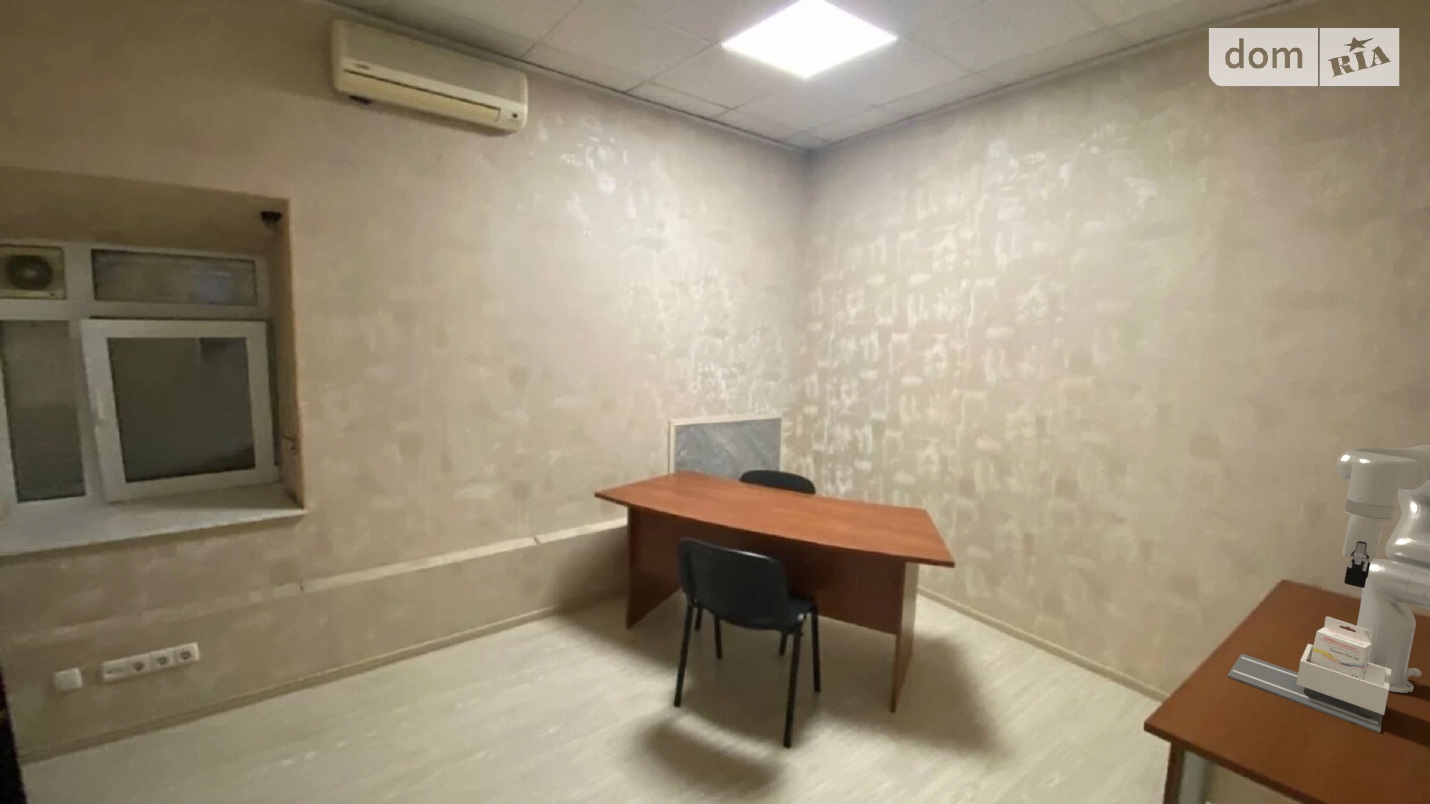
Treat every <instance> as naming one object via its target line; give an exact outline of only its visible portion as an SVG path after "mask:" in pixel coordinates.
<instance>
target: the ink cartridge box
mask: <svg viewBox="0 0 1430 804" xmlns="http://www.w3.org/2000/svg"><path fill="white" fill-rule="evenodd" d="M1343 627H1345V628H1346V627H1348V628H1350V630H1349V629H1345V628H1343ZM1351 630H1353V631H1351ZM1356 631H1357V632H1356ZM1372 636H1373V632H1372V631H1371V630H1368V629H1365V628H1362V627H1359V626H1357V624H1356V625H1355V624H1353V623H1349V622H1347V621H1343V620H1340V619H1337V618H1333V617H1331V616H1325V619H1324V626H1323V627H1321V628H1320V629H1318V630H1317V631H1316V634H1315V638H1314V643H1313V645H1314V647H1313V652H1312V657H1311V663H1312V664H1315V665H1318V666H1322V667H1325V668H1328V669H1331V670H1334V671H1337V672H1340V673H1343V674H1346V675H1349V676H1352V677H1355V678H1358V679H1361V680H1364V681H1365V677H1366V672H1367V667H1368V663H1369V658H1370V653H1371V648H1372V644H1371V641H1372Z"/></svg>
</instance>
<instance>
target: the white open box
mask: <svg viewBox="0 0 1430 804" xmlns="http://www.w3.org/2000/svg"><path fill="white" fill-rule="evenodd" d="M1313 647H1314V644H1311V643H1307V644H1306V647H1305V649H1304V651H1303V654H1302V656H1301V658H1300V661H1299V667H1298V672H1297V673H1298V677H1297V683H1296V684H1297V685H1300V686H1303V687H1305V688H1304V694H1305V695H1306V696H1308V697H1310V698H1316V697H1317V696H1318V692H1320V693H1323V694H1326V695H1328V696H1331V697H1334V698H1337V699H1340V700H1343V701H1346V702H1348V703H1351V704H1354V705H1357V706H1360V707H1359V713H1360V714H1361V715H1362V716H1363V717H1366V718H1373V717H1374V716H1375V712H1377V713H1380V714H1382V715H1383V716H1384V715H1385V713H1386V708H1387V707H1386V706H1387V701H1388V696H1389V692H1390V691H1389V685H1390V677H1391V670H1392V669H1388V668H1385V667H1382V666H1379V665H1376V664H1372V663H1368V667H1367V672H1366V677H1365V681H1364V680H1361V679H1358V678H1355V677H1352V676H1349V675H1346V674H1343V673H1340V672H1337V671H1334V670H1331V669H1328V668H1325V667H1322V666H1318V665H1315V664H1312V663H1311V657H1312V652H1313Z"/></svg>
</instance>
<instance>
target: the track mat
mask: <svg viewBox="0 0 1430 804" xmlns="http://www.w3.org/2000/svg"><path fill="white" fill-rule="evenodd" d="M1227 676H1228V677H1227ZM1226 677H1227V678H1229V677H1230V678H1229V679H1231V678H1233V679H1232V680H1234V679H1235V680H1234V681H1238V682H1240V681H1241V682H1240V683H1242V682H1243V684H1245V683H1246V685H1248V686H1250V685H1251V686H1252V687H1253V688H1256V689H1259V690H1262V691H1265V692H1266V693H1267V692H1268V693H1269V692H1270V693H1269V694H1272V695H1276V696H1278V697H1280V698H1283V699H1286V698H1287V700H1288V699H1289V700H1288V701H1291V702H1294V703H1296V702H1298V703H1297V704H1299V705H1303V706H1305V707H1307V708H1311V709H1313V710H1316V711H1319V712H1322V713H1323V714H1327V715H1329V716H1332V717H1334V718H1337V719H1340V720H1343V721H1345V722H1348V723H1351V722H1352V723H1351V724H1353V723H1355V724H1354V725H1357V726H1359V727H1361V726H1362V728H1365V729H1367V730H1370V731H1373V732H1376V733H1377V734H1381V732H1382V731H1381V730H1382V725H1383V723H1382V722H1383V716H1384V715H1382V714H1380V713H1377V712H1375V716H1374V717H1373V718H1366V717H1363V716H1362V715H1361V714H1360V713H1359V707H1360V706H1357V705H1354V704H1351V703H1348V702H1346V701H1343V700H1340V699H1337V698H1334V697H1331V696H1328V695H1326V694H1323V693H1320V692H1318V696H1317V697H1316V698H1310V697H1308V696H1306V695H1305V694H1304V688H1305V687H1303V686H1300V685H1297V684H1296V683H1297V677H1298V672H1297V671H1294V670H1291V669H1288V668H1285V667H1282V666H1279V665H1277V664H1274V663H1270V662H1268V661H1266V660H1262V659H1260V658H1256V657H1253V656H1249V655H1247V654H1244V653H1241V654H1240V655H1239V657H1238V659H1236V661H1235V663H1234V664H1233V666H1232V667H1231V669H1230V670H1229V672H1228V674H1227V675H1226Z"/></svg>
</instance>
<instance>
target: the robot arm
mask: <svg viewBox="0 0 1430 804" xmlns="http://www.w3.org/2000/svg"><path fill="white" fill-rule="evenodd" d="M1335 469H1336V473H1337V475H1339V477H1340V478H1341V479H1343V480H1346V481H1349V483H1348V490H1347V494H1346V500H1345V506H1344V510H1343V511H1344V512H1343V513H1344V514H1347V515H1349V518H1348V521H1347V524H1346V525H1347V527H1346V530H1345V531H1346V532H1345V537H1344V542H1343V547H1342V553H1341V555H1342V556H1343V557H1347V556H1348V557H1350V558H1349V560H1348V561H1349V563H1348V566H1347V567H1346V571H1345V575H1344V584H1345V585H1349V586H1353V587H1358V588H1361V598H1360V606H1359V612H1358V617H1357V622H1356V626H1359V627H1362V628H1365V629H1368V630H1371V631H1372V632H1373V636H1372V641H1371V644H1372V648H1371V653H1370V658H1369V663H1372V664H1376V665H1379V666H1382V667H1385V668H1388V669H1392V670H1391V677H1390V685H1389V692H1392V693H1398V692H1399V694H1409V693H1408V692H1410V693H1413V691H1414V685H1413V683H1411V682H1410V680H1408V679H1409V678H1411V677H1421V676H1422V671H1421V670H1420V669H1419V668H1417V667H1416V668H1415V667H1414V668H1413V667H1408V665H1409V662H1410V656H1411V652H1412V646H1413V642H1414V635H1415V630H1416V624H1417V622H1416V618H1415V616H1414V614H1413V612H1412V611H1411V609H1410V608H1409V606H1408V605H1412V606H1414V607H1419V608H1423V609H1425V610H1429V611H1430V444H1422V445H1421V444H1420V445H1416V446H1413V447H1412V446H1411V447H1407V448H1406V447H1385V448H1384V447H1357V448H1356V447H1355V448H1350V449H1348V450H1345V451H1344V452H1343V453H1342V454H1340V456H1339V457H1338V458H1337V460H1336V464H1335ZM1397 499H1398V504H1399V508H1400V518H1399V520H1398V523H1397V524H1396V525H1395V528H1394V529H1393V531H1392V533H1391V535H1390V537H1389V538H1388V540H1387V542H1386V545H1385V549H1384V552H1385V555H1386V557H1387V558H1388V559H1385V558H1375V556H1376V553H1377V551H1378V548H1379V545H1380V543H1381V537H1382V534H1383V533H1382V532H1383V528H1384V522H1392V521H1393V518H1394V513H1395V507H1396V503H1397ZM1407 604H1408V605H1407ZM1356 632H1357V631H1356V630H1355V633H1356Z"/></svg>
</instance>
